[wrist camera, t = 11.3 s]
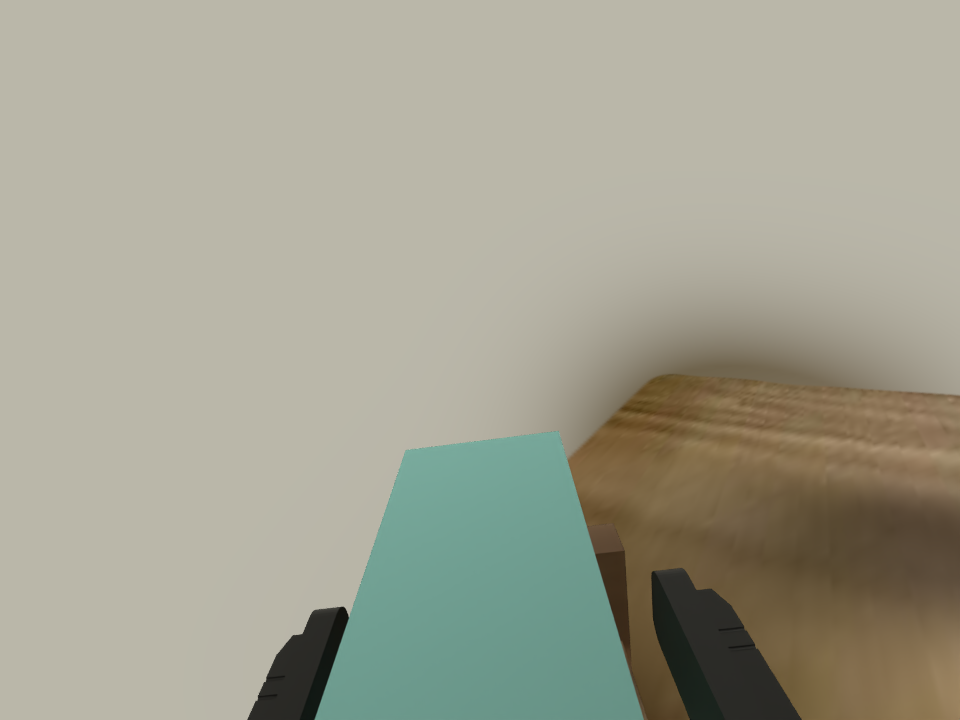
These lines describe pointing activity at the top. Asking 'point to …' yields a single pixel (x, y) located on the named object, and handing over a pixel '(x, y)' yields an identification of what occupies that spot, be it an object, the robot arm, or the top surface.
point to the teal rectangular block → (482, 597)
